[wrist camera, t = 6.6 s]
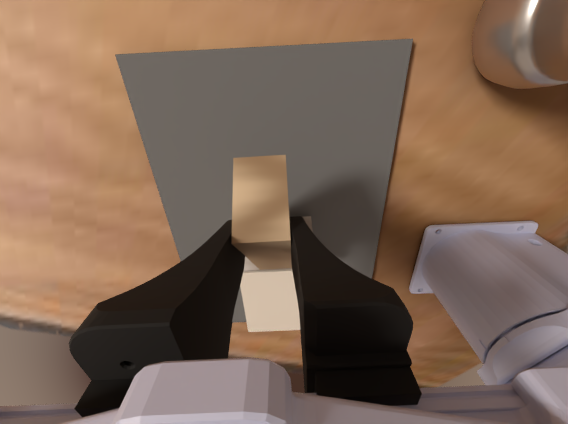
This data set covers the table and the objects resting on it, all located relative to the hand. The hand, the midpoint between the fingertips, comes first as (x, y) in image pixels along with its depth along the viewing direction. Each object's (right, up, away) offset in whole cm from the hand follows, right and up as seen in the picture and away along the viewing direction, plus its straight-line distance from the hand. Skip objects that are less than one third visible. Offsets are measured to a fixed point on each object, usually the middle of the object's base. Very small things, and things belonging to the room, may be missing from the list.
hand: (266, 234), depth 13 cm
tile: (0, -4, +10) cm, 10 cm away
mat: (0, 0, +9) cm, 9 cm away
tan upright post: (0, +2, +4) cm, 5 cm away
